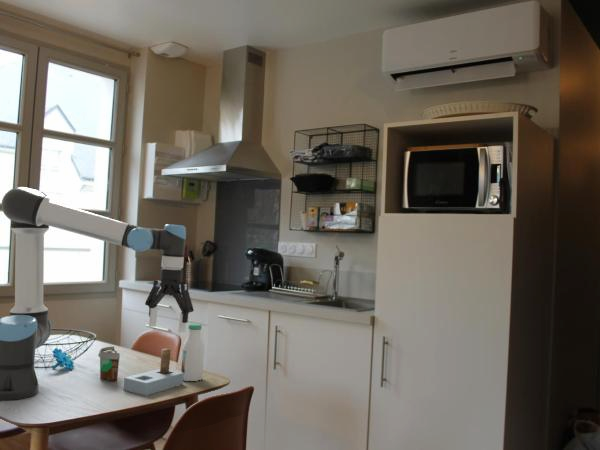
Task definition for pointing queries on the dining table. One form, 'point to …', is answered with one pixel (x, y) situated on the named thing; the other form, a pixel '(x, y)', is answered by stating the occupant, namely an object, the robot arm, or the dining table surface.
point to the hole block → (152, 382)
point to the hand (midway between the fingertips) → (166, 329)
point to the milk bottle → (193, 354)
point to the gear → (62, 359)
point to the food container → (108, 364)
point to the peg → (165, 361)
